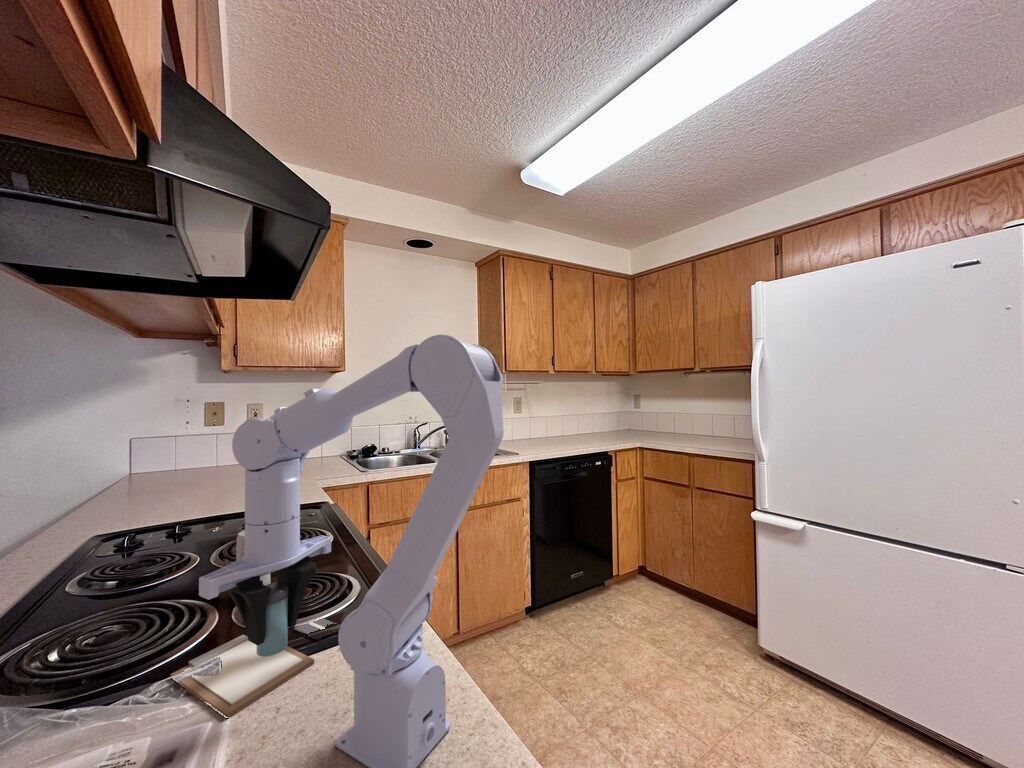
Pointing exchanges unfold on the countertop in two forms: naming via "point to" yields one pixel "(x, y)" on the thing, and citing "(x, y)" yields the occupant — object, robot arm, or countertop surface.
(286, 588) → the tumbler
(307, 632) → the plate
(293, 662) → the clipboard
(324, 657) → the countertop surface
